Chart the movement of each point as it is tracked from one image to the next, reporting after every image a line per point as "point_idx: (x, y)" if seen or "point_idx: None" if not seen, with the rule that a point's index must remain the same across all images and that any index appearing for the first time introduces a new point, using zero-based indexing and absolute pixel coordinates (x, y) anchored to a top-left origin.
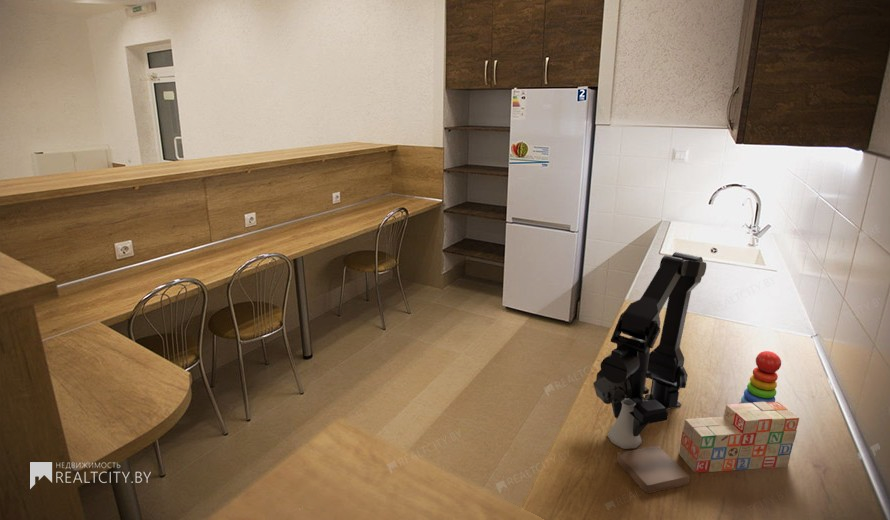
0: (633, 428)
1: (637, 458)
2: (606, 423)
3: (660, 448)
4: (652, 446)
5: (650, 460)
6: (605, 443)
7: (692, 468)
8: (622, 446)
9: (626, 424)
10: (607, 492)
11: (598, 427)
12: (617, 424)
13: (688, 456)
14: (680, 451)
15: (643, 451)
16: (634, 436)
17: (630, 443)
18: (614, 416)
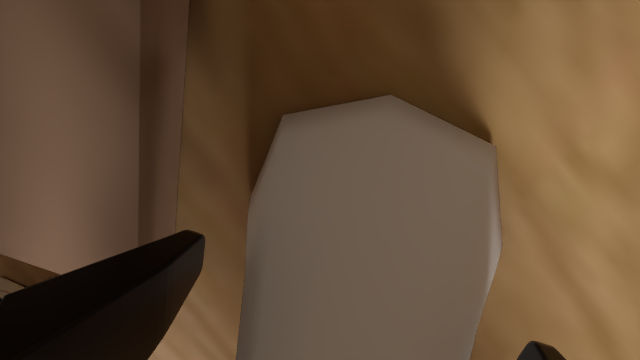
0: (125, 277)
1: (38, 45)
2: (610, 274)
3: None
4: None
5: (3, 122)
6: (427, 40)
7: (8, 289)
8: (294, 120)
9: (264, 291)
10: None
11: (635, 175)
12: (400, 241)
13: None
14: None
15: (106, 168)
16: (189, 230)
17: (260, 186)
18: (555, 350)
